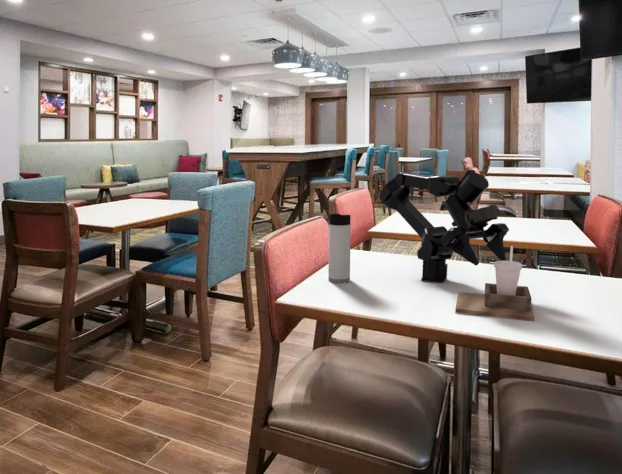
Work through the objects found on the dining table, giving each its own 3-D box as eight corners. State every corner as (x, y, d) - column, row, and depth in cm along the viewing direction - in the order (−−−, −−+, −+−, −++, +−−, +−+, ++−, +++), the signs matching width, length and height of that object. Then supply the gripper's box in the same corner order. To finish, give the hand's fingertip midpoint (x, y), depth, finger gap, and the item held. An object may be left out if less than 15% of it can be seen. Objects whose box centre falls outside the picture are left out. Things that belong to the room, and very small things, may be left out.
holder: (455, 312, 114) (456, 296, 113) (457, 295, 127) (458, 280, 126) (534, 320, 108) (535, 303, 108) (528, 302, 122) (529, 286, 121)
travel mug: (324, 282, 140) (325, 213, 136) (332, 276, 146) (333, 210, 142) (345, 284, 137) (346, 214, 134) (352, 278, 143) (353, 211, 140)
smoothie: (516, 307, 114) (521, 249, 112) (488, 303, 118) (492, 246, 115) (522, 300, 119) (526, 244, 117) (495, 296, 123) (498, 242, 120)
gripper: (451, 195, 119) (481, 248, 112) (506, 192, 127) (538, 241, 120) (428, 222, 128) (455, 273, 120) (481, 218, 136) (510, 265, 128)
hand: (491, 262), depth 122 cm, fingers open, 9 cm apart
